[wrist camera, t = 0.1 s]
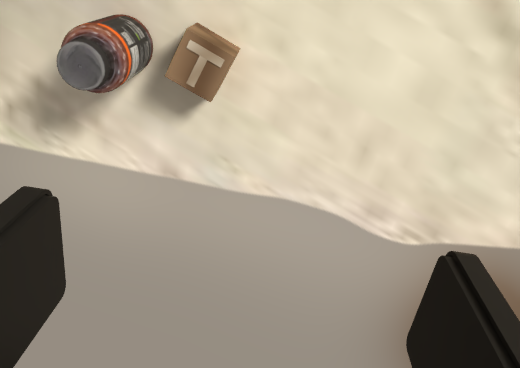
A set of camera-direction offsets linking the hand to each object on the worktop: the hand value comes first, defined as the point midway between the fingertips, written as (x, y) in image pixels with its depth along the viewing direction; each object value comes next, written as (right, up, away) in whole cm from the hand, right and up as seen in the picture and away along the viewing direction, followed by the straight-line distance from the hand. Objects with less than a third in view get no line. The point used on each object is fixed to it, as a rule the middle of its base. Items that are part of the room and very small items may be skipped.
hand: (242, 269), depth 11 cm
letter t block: (-5, +15, +34) cm, 38 cm away
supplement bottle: (-14, +17, +34) cm, 41 cm away
